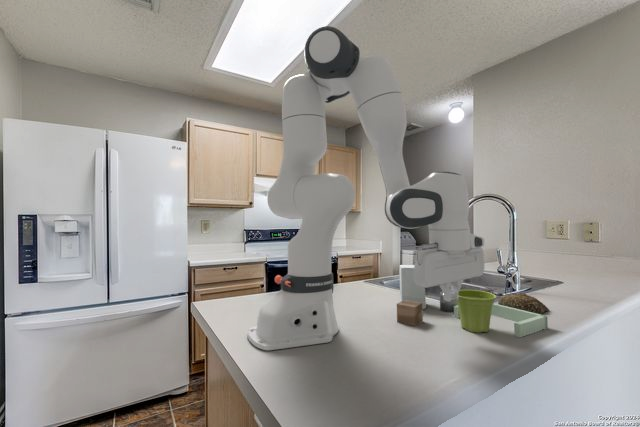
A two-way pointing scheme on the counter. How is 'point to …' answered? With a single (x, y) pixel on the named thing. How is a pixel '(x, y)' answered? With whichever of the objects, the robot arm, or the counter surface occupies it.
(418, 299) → the supplement box
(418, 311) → the walnut block
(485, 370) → the counter surface
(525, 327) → the corral
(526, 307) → the bread roll
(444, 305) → the metal tin
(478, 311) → the plant pot
